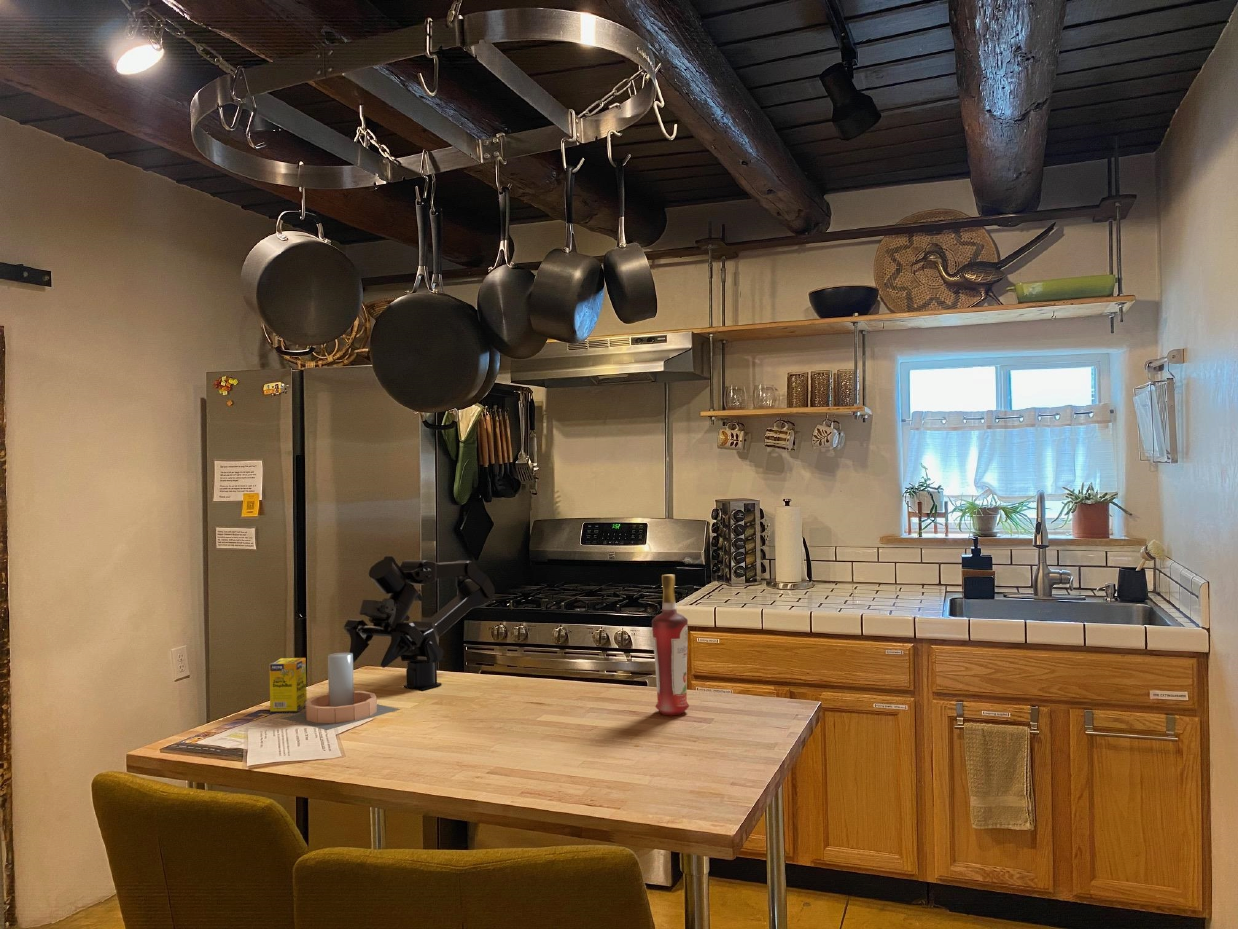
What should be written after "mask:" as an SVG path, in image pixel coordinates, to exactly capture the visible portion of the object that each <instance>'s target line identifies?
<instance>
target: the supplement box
mask: <svg viewBox="0 0 1238 929" xmlns="http://www.w3.org/2000/svg"><path fill="white" fill-rule="evenodd" d="M268 665H269V666H268V668H269V670H268V672H269V706H270V707H269V709H270V710H269V711H270V714H271V715H272V714H299V712H301V710H303V709H306V708H305V701H307V700H308V698H307V697H308V693H307V690H308V689H307V660H306V657H293V658H291V657H286V658H285V657H284V658H282V657H281V658H279V659H278V660H276V661H274V662H271V663H269V664H268Z"/></svg>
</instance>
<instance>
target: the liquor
mask: <svg viewBox="0 0 1238 929" xmlns="http://www.w3.org/2000/svg"><path fill="white" fill-rule="evenodd" d="M661 584H662V590H663V591H662V592H663V593H662V610H661V611H662V612H661V613H660V614H658V615H656V616H655V617H654V618H652V620H651V628H652V629H651V630H652V642H653V644H652V645H653V654H654V664H655V680H656V681H655V682H656V693H657V694H656V695H657V697H656V698H657V699H656V700H657V702H656V703H655V706H654V707H655V708H656V709H657V711H659V712H660V714H662V715H663V716H664V715H665V716H668V717H670V716H671V717H672V716H673V717H674V716H681V715H682V714H684V713H685V712H686V711H687V710H688V709H689V708H690V704H689V703H688V697H687V696H688V692H687V690H688V688H687V684H688V682H687V679H688V676H687V675H688V672H687V671H688V670H687V669H688V665H687V664H688V625H689V623H688V618H686V617H685V616H684V615H682V614H680V613H678V612H677V604H676V596H675V595H676V594H675V587H676V574H662V575H661Z"/></svg>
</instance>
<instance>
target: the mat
mask: <svg viewBox="0 0 1238 929" xmlns="http://www.w3.org/2000/svg"><path fill="white" fill-rule="evenodd" d="M399 710H401V709H400V708H398V707H397V708H396V707H392V706H388V705H383V704H379V703H377V712H375V713H374V714H372V715H371V716H369V717H365V718H362V719H358V720H354V721H347V722H339V723H316V722H312V721H308V720H307V719H306V711H304V712H300V713H299V712H298V713H294V714H292V715H288V716H284V717H281V718H280V719H283V720H287V721H288V722H289V721H290V722H295V723H297V724H302V725H306V726H310V727H312V728H313V727H314V728H317V729H322V730H325V731H330V730H333V729H335V728H339V727H342V726H346V725H350V724H354V723H357V722H361V721H364V720H367V719H371V718H376V717H378V716H382V715H385V714H389V713H392V712H397V711H399Z"/></svg>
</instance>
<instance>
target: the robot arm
mask: <svg viewBox="0 0 1238 929" xmlns="http://www.w3.org/2000/svg"><path fill="white" fill-rule="evenodd" d="M368 576H369V578H370V579H371V581H372V582H374V584H375V585H376V586H377V587H378V588H379V589H380V590H381V592H382V593H383V594H386V595H388V597H387V598H386V597H385V598H383V599H382V600H374V599H362V601H361V604H360V609H359V612H358V614H359V615H361V616H365V617H368V621H369V622H370V624H373V625H369V624H367V623H366V622H365V620H364V619H361V618H360V619H358V618H356V619H355V618H350V619H347V620H346V622H345V624H344V626H343V629H344V631H346V633H347V635H349V637H350V647H349V652H348V653H353V664H354V663H355V662H356V661H357V660H358V659H359V658H360V656H361V655H362V654H363V653H364V652H365V651H366V649H367V648H368V647H369V646H370V643H369V642H370V641H371V640H372V639H373V637H374V636H375V637H376V636H378V637H385V638H390V643H389V645H388V647H387V650H386V651H385V654H384V655H383V658H382V660H381V662H380V667H381V668H383V669H385V668H386V667H387V666H389V665H390V664H392V663H393V662H394V661H396V659H398V658H400V660H401V661H402V662H407V664H406V666H407V668H406V670H405V672H406V673H405V674H406V677H405V678H406V684H404V685H403V688H405V689H410V690H415V691H420V692H421V691H426V690H429V689H433V688H437V687H440V686H442V684H443V683H442V682H438V673H437V672H438V671H437V669H438V668H437V667H438V664H437V663H439V662H440V661H442V660H443V657H444V649H442V648H441V646H440V645H439V638H440V637H441V636H442V635H443V634H445V632H447V631H448V630H449V629H450V628H451V627H452V626H454V625H455V624H456V623H457V622H458V621H459V620H461V618H462V617H464V616H465V615H466V614H467V613H468V612H470V611H471V610H472V609H475V608H479V607H483V606H485V605H486V604H488V603H490V602H491V601H492V600H493V599H494V596H495V586H494V585H493V582H492V581H491V579H490V578H489V576H488V575H487V574H485V573H484V572H483V571H482V570H480V569H479V568H478V567H477V565H476V564H475V563H474V562H473V561H472V560H456V561H445V562H435V561H432V560H427V559H426V560H425V559H423V560H422V559H405V560H403V561H401V564H400V565H399V564H398V562H397V561H396V559H395V558H394V556H392V555H385V556H384V558H383V559H381V560H379V561H377V562H376V563H374V564H373V565H372V566H371V567H370V569H369V571H368ZM466 577H467V578H469V579H466ZM448 578H455V587H456V590H457V592H456V596H455V597H453V599H451V600H450V601H449V602H448V603H447V604H445V605H444V606H443V607H442V608H440V609H439V611H437V612H436V613H435V614H433V615H432V616H431V617H430V618H429V619H427V621H418V620H417V621H416V620H413V621H411V622H409V620H410V618H411V617H410V615H409V612H410V610H411V608H412V606H413V605H414V603H415V602H423V600H424V599H423V595H422V591H421V589H417V587H416V586H418V585H419V586H421V585H422V586H427V585H429V584H432V583H435V582H436V581H437V580H438V579H448ZM415 585H416V586H415Z"/></svg>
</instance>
